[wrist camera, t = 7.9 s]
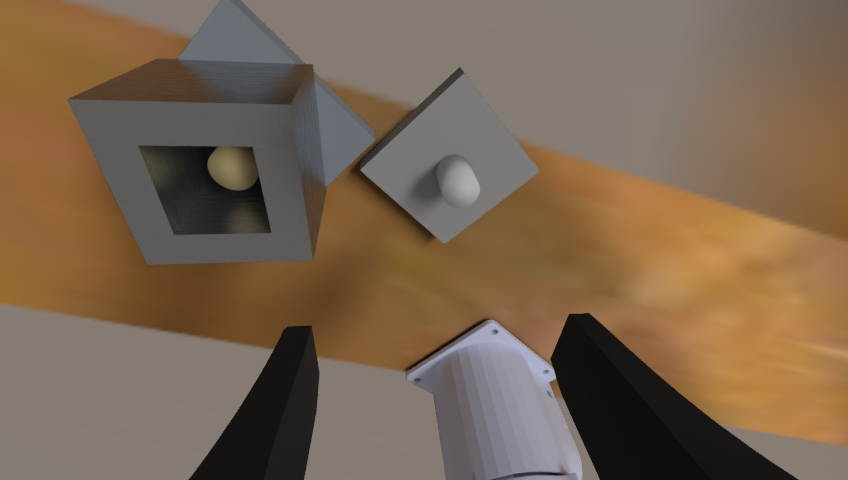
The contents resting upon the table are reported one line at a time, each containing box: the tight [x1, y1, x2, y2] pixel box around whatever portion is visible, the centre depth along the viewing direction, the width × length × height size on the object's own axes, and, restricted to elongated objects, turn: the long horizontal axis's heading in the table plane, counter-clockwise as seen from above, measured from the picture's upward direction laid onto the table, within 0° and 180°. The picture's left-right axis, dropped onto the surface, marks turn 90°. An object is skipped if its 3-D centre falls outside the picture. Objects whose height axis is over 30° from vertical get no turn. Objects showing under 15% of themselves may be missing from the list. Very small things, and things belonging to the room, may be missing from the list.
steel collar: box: [67, 59, 326, 265], centre depth 13 cm, size 5×5×5 cm
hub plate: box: [178, 0, 375, 190], centre depth 15 cm, size 7×7×4 cm
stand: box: [360, 67, 540, 244], centre depth 17 cm, size 6×6×3 cm
